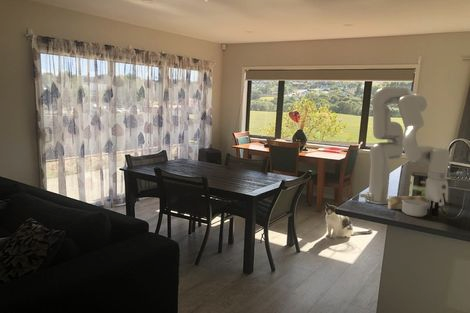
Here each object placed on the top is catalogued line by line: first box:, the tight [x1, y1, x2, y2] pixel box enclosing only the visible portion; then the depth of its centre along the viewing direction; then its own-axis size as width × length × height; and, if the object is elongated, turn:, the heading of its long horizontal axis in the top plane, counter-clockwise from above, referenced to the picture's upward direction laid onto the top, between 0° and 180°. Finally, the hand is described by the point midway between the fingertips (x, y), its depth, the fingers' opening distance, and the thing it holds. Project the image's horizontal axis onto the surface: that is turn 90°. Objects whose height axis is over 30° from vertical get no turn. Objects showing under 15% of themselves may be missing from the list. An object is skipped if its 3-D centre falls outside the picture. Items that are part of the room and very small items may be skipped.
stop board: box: [387, 195, 429, 210], centre depth 184 cm, size 22×2×6 cm, turn 97°
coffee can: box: [408, 171, 428, 196], centre depth 204 cm, size 10×10×14 cm
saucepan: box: [401, 199, 450, 217], centre depth 173 cm, size 12×20×6 cm, turn 69°
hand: (433, 215), depth 167 cm, fingers closed
